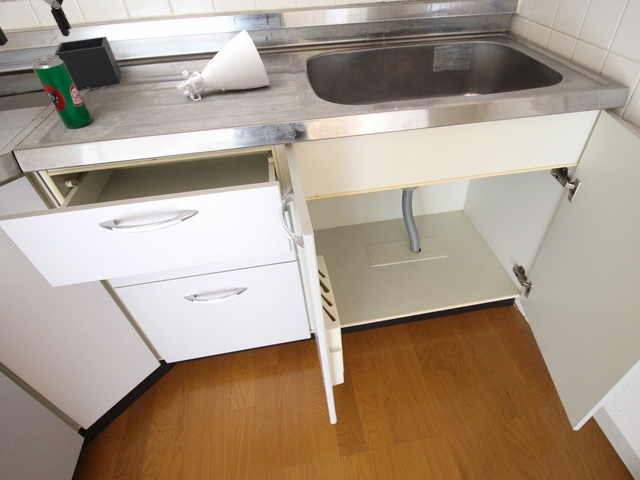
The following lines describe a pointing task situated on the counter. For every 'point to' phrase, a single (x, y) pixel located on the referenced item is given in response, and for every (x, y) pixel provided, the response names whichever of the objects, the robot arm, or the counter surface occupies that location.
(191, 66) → the counter surface
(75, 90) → the soda can
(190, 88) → the rocket engine
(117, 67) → the bin
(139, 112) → the counter surface
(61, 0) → the robot arm
